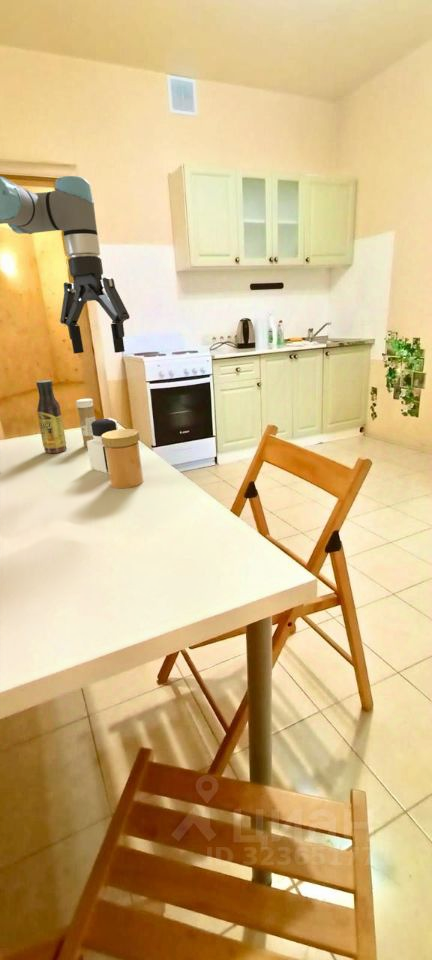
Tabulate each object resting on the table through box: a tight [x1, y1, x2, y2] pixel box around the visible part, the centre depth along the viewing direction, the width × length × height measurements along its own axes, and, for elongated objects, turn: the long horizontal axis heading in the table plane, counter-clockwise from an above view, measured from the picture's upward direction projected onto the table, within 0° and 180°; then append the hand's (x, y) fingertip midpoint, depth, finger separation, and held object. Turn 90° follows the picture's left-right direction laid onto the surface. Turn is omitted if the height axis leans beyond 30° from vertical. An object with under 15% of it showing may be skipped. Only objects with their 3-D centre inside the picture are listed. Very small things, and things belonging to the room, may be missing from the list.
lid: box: [102, 428, 140, 447], centre depth 96 cm, size 8×8×2 cm
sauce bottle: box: [36, 379, 67, 454], centre depth 124 cm, size 7×6×20 cm
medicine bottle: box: [86, 417, 119, 475], centre depth 109 cm, size 7×7×12 cm
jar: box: [105, 441, 144, 489], centre depth 98 cm, size 7×7×10 cm
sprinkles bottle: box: [75, 398, 96, 448], centre depth 129 cm, size 5×5×13 cm
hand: (98, 352), depth 111 cm, fingers open, 13 cm apart
